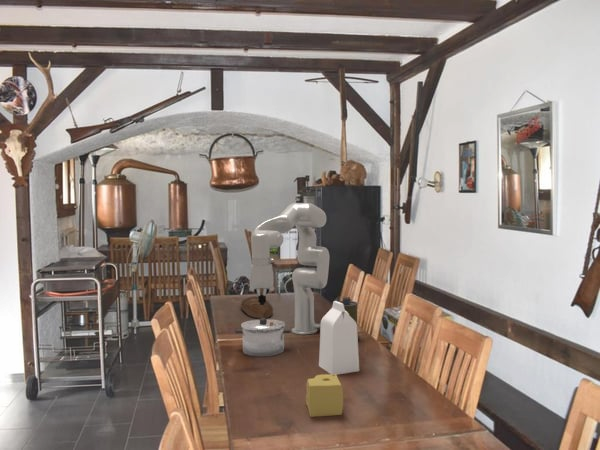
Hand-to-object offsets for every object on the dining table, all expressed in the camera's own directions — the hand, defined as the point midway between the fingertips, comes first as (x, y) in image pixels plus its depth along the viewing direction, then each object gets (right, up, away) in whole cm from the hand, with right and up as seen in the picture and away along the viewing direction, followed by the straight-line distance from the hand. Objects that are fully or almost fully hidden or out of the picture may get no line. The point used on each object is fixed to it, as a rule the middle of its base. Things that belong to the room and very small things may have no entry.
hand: (262, 304), depth 230 cm
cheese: (+24, -25, -59) cm, 68 cm away
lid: (0, -10, +5) cm, 11 cm away
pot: (0, -21, +6) cm, 22 cm away
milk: (+31, -22, -19) cm, 43 cm away
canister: (+38, -20, +20) cm, 47 cm away
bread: (-9, -17, +80) cm, 82 cm away
